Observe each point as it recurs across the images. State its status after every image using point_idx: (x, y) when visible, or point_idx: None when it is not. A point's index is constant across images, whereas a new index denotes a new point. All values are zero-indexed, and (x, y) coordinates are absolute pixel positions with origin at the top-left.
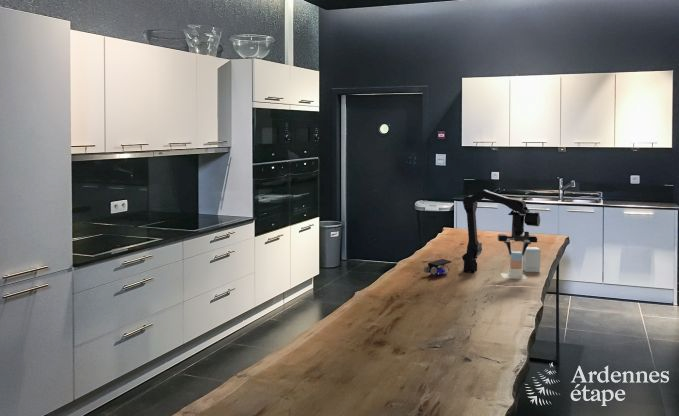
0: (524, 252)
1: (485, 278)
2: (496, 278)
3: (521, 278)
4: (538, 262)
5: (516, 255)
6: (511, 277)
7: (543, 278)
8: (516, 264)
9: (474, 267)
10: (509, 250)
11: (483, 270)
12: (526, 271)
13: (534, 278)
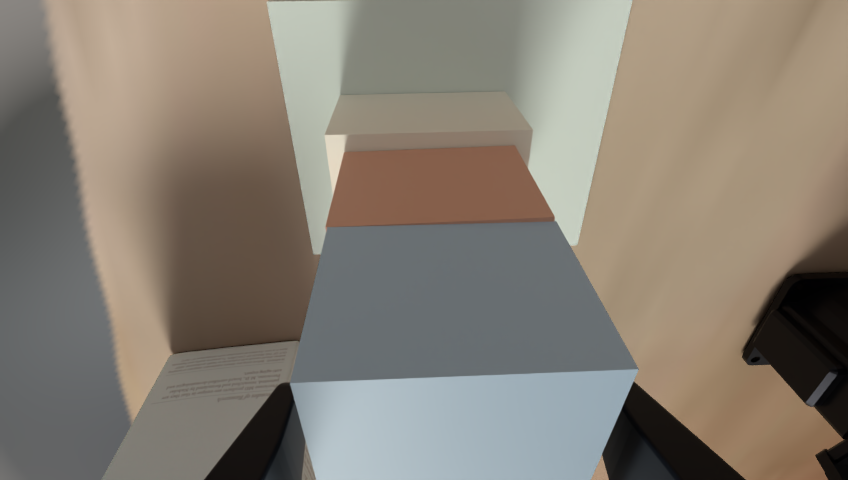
0: (223, 456)
1: (840, 22)
2: (685, 50)
3: (359, 9)
4: (131, 453)
5: (475, 314)
6: (497, 50)
7: (81, 162)
8: (442, 183)
9: (827, 326)
10: (718, 476)
11: (667, 359)
12: (290, 352)
13: (191, 142)
